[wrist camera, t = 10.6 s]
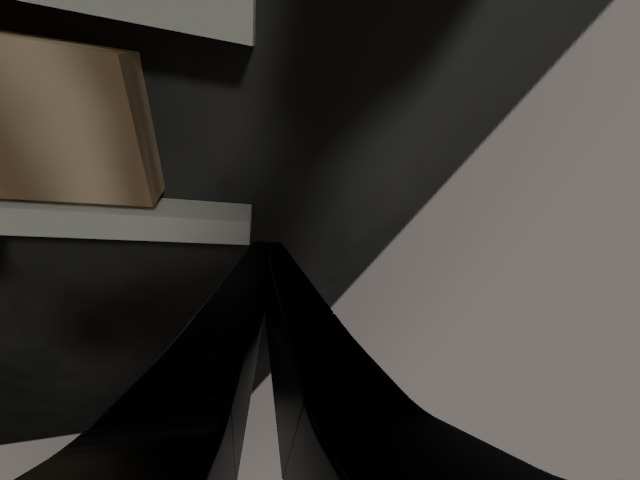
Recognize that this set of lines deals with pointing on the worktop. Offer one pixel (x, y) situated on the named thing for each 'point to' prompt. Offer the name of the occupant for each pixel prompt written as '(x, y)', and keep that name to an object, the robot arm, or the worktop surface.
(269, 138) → the worktop surface
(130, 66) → the tan wooden block
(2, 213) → the canopy channel
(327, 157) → the worktop surface
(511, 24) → the worktop surface
